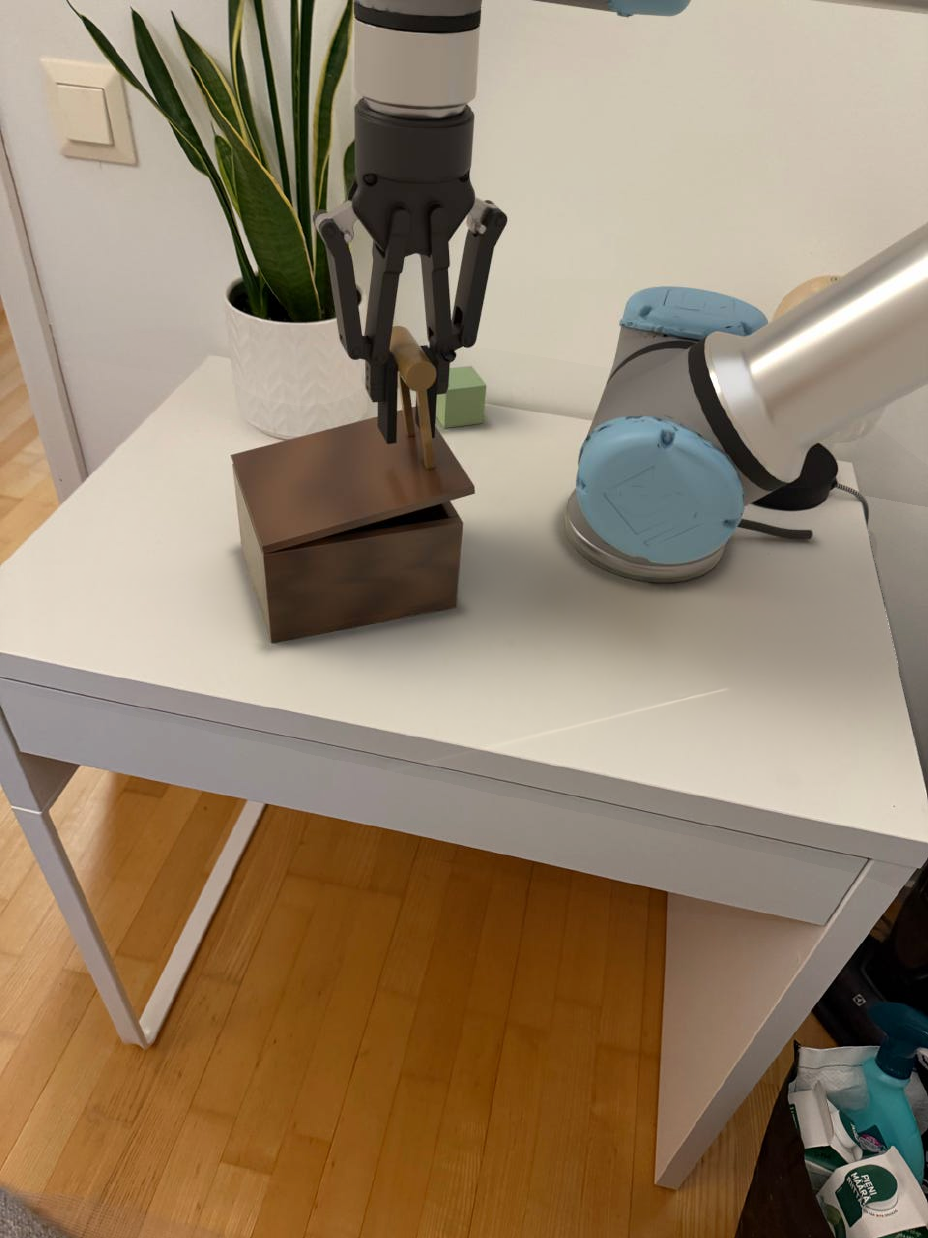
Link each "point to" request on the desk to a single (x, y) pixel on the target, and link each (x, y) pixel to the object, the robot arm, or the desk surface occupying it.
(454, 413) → the block
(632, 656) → the desk surface
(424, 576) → the chest
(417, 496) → the lid
